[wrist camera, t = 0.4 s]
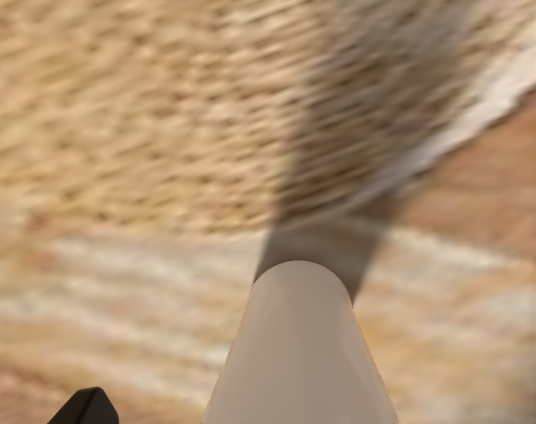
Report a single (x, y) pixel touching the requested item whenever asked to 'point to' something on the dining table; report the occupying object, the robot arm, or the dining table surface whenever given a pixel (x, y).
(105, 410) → the robot arm
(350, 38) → the dining table surface
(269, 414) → the drinking glass
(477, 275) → the dining table surface
